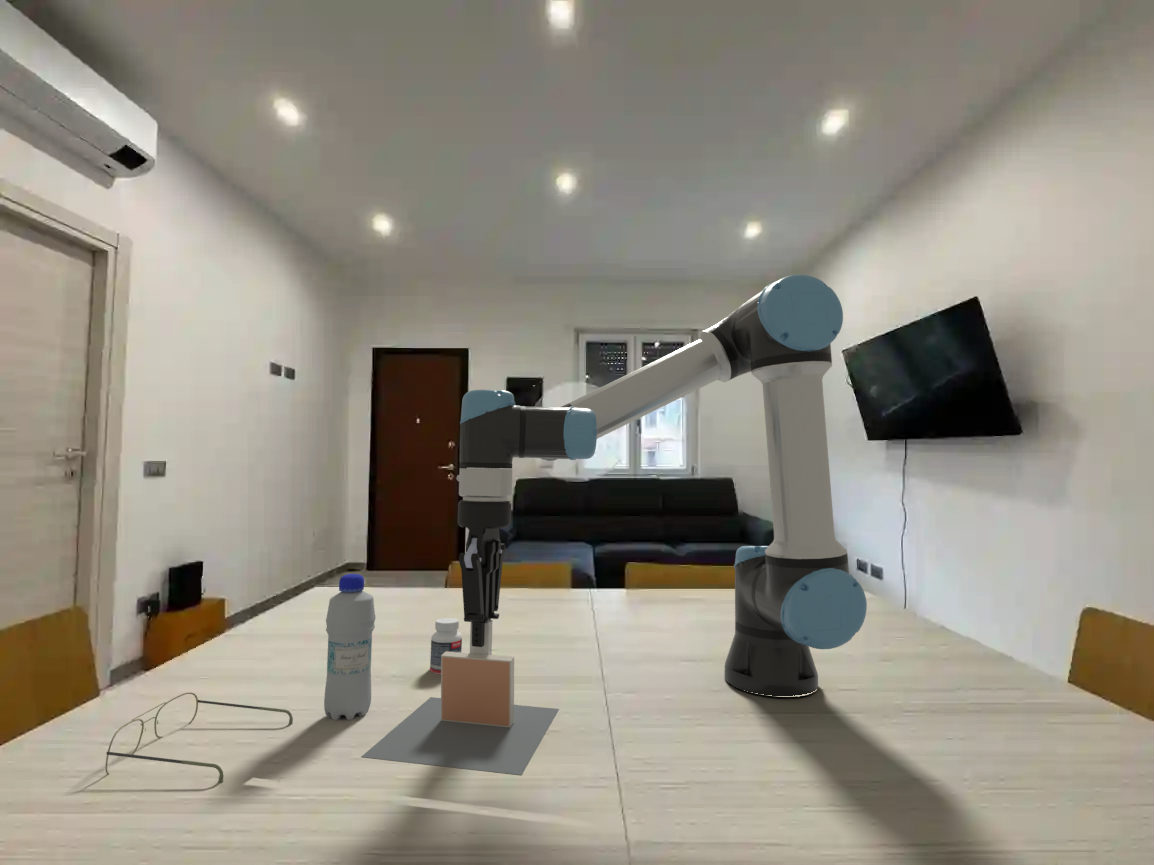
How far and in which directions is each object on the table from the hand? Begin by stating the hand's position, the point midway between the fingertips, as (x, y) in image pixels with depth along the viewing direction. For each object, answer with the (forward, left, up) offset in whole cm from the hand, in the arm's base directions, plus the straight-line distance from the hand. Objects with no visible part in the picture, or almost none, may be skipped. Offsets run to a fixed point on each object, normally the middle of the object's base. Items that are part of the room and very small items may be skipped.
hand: (480, 667), depth 87 cm
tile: (0, +1, -7) cm, 7 cm away
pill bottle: (+13, -19, -8) cm, 24 cm away
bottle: (+19, +2, -8) cm, 20 cm away
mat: (0, +4, -8) cm, 9 cm away
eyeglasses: (+31, +15, -8) cm, 35 cm away
